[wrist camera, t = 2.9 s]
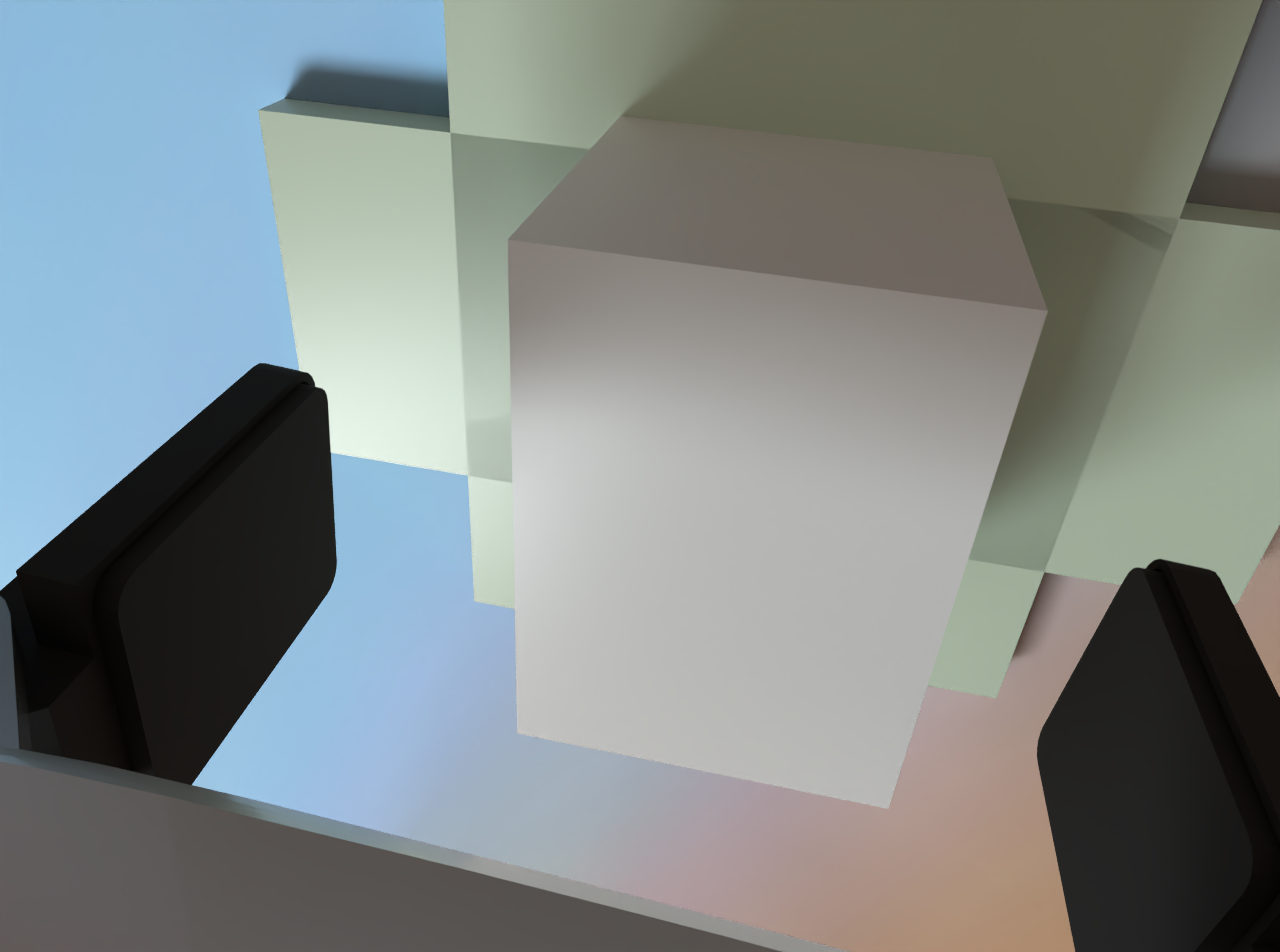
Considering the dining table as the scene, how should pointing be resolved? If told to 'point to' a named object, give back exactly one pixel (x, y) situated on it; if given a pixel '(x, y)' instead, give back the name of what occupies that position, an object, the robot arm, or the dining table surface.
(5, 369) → the dining table surface
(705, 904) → the dining table surface
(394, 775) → the dining table surface
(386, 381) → the board
